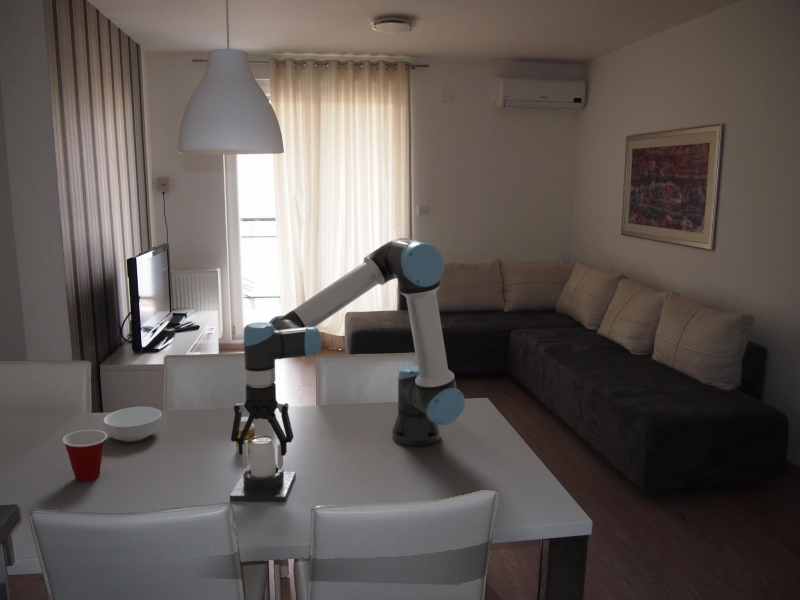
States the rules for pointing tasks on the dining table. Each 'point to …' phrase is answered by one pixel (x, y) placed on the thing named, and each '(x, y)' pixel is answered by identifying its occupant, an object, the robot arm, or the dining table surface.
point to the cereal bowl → (132, 423)
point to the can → (262, 456)
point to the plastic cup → (85, 453)
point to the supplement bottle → (249, 435)
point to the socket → (263, 487)
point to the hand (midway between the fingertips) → (263, 466)
